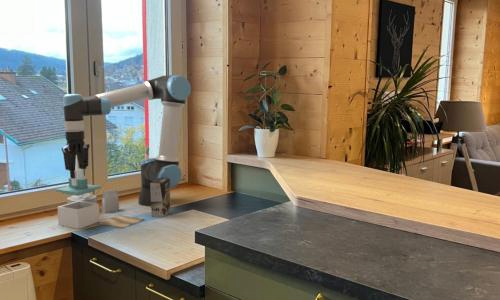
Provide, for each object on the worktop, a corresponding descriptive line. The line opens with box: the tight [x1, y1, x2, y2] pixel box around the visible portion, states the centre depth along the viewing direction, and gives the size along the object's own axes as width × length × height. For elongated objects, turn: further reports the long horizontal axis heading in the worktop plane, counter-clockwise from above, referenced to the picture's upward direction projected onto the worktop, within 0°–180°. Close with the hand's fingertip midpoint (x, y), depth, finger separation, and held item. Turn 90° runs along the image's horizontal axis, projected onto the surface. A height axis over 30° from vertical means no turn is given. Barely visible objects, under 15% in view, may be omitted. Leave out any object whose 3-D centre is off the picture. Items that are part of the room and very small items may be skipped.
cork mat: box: [97, 214, 145, 229], centre depth 209 cm, size 14×14×1 cm
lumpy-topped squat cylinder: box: [66, 192, 98, 204], centre depth 224 cm, size 10×13×9 cm
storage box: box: [57, 201, 101, 230], centre depth 206 cm, size 12×12×8 cm
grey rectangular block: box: [101, 189, 120, 214], centre depth 226 cm, size 4×7×10 cm, turn 129°
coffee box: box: [150, 178, 172, 218], centre depth 219 cm, size 9×6×16 cm
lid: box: [55, 177, 102, 196], centre depth 205 cm, size 13×13×6 cm
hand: (78, 184), depth 205 cm, fingers closed on lid, 3 cm apart
